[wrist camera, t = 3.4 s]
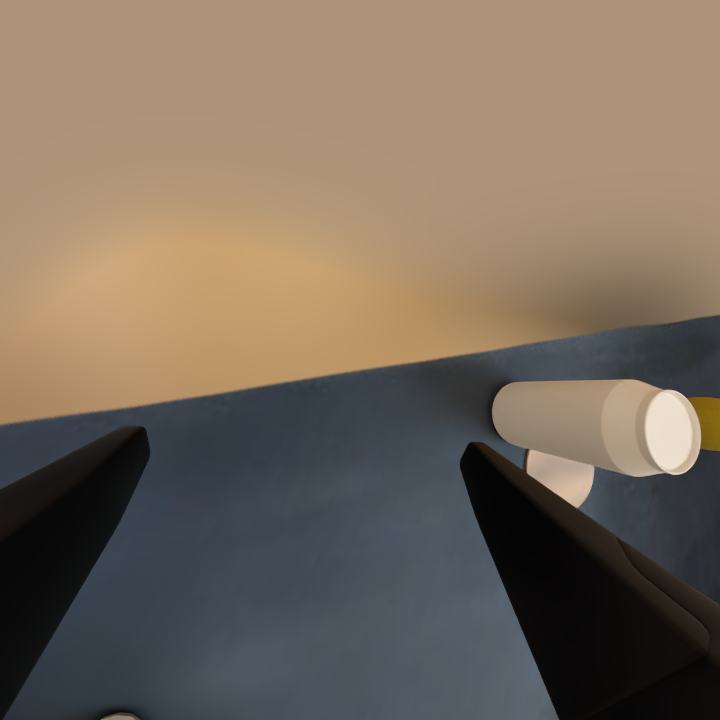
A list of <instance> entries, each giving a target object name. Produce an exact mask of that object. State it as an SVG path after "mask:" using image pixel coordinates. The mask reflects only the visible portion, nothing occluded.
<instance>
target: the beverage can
mask: <svg viewBox="0 0 720 720" xmlns="http://www.w3.org/2000/svg"><path fill="white" fill-rule="evenodd" d="M492 418H493V423H494V426H495V428H496V430H497V432H498V433H499V435H500V436H501V437H502V438H503V439H504V440H505V441H507V442H508V443H510V444H513V445H516V446H519V447H523V448H527V449H530V450H534V451H538V452H542V453H546V454H549V455H553V456H557V457H561V458H565V459H569V460H572V461H576V462H580V463H584V464H588V465H592V466H596V467H599V468H603V469H607V470H611V471H615V472H619V473H623V474H626V475H630V476H635V477H642V476H648V475H654V474H660V473H669V474H674V475H678V474H682V473H685V472H686V471H688V470H689V469H690V468H691V467H692V466H693V464H694V463H695V461H696V459H697V457H698V454H699V450H700V444H701V430H700V424H699V420H698V417H697V414H696V412H695V410H694V408H693V406H692V405H691V403H690V402H689V401H688V400H687V398H686V397H684V396H683V395H682V394H680V393H679V392H677V391H674V390H662V389H659V388H657V387H654V386H652V385H649V384H647V383H644V382H641V381H638V380H582V381H535V382H514V383H510V384H507V385H506V386H504V387H503V388H502V389H501V390H500V391H499V392H498V394H497V395H496V397H495V399H494V402H493V407H492Z"/></svg>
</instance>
